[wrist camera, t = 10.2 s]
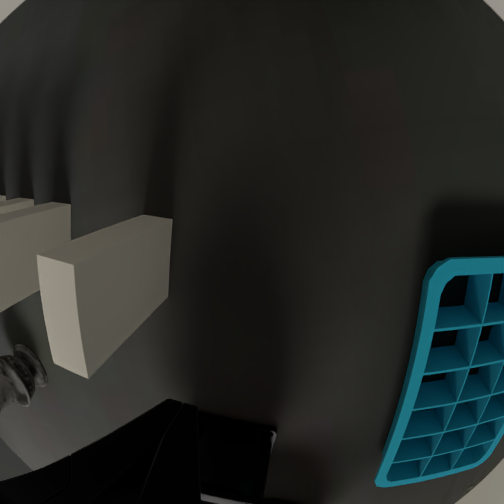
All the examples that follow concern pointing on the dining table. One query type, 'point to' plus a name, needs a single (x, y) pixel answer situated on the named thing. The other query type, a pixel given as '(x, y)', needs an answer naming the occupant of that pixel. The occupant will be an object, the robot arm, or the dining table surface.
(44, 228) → the domino
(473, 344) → the ice cube tray
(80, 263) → the domino
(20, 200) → the domino
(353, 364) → the dining table surface
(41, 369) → the chess piece
